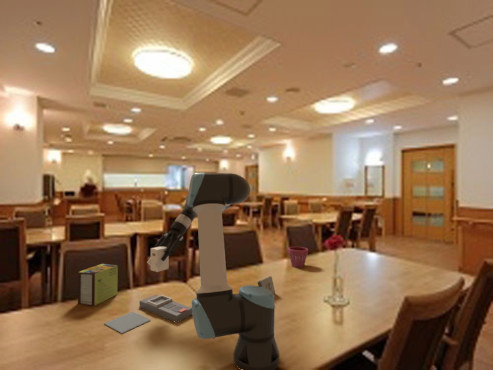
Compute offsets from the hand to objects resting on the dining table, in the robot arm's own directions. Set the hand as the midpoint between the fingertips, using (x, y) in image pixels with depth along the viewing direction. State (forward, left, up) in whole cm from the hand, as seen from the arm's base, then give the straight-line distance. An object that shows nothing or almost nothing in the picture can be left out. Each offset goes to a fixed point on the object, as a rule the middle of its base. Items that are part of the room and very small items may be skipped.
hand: (152, 265), depth 124 cm
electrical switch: (+13, -56, -21) cm, 61 cm away
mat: (-9, +8, -21) cm, 24 cm away
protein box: (+18, +30, -21) cm, 41 cm away
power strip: (0, -6, -21) cm, 22 cm away
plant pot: (+64, -90, -21) cm, 112 cm away
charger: (+3, -2, -3) cm, 5 cm away
